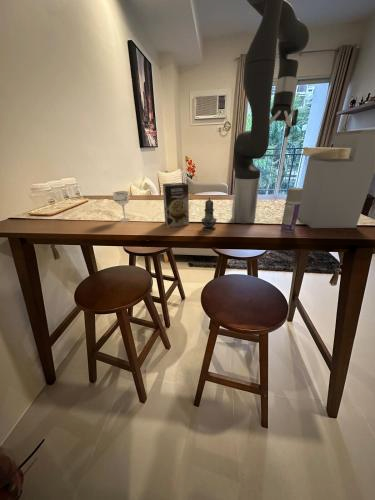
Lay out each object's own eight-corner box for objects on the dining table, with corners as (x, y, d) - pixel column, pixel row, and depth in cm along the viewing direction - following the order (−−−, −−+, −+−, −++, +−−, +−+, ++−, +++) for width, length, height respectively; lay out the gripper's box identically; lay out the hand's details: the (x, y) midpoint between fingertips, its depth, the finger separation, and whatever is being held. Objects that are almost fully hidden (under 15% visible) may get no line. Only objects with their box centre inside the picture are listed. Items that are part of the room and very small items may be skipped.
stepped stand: (311, 227, 80) (335, 130, 66) (296, 216, 93) (313, 132, 78) (355, 227, 79) (389, 128, 65) (334, 216, 92) (359, 131, 77)
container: (290, 227, 81) (298, 187, 74) (296, 232, 77) (306, 189, 70) (278, 228, 81) (285, 187, 74) (284, 232, 77) (291, 190, 70)
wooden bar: (335, 158, 68) (337, 148, 66) (302, 155, 89) (303, 147, 88) (348, 158, 67) (351, 148, 66) (312, 155, 89) (313, 147, 88)
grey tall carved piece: (215, 231, 79) (216, 199, 74) (200, 231, 80) (200, 199, 75) (217, 226, 84) (218, 196, 79) (202, 225, 86) (202, 195, 80)
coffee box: (167, 227, 85) (164, 186, 78) (164, 222, 90) (161, 183, 83) (189, 225, 87) (188, 184, 80) (185, 220, 92) (184, 181, 85)
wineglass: (127, 222, 92) (122, 194, 86) (114, 221, 94) (108, 194, 88) (135, 218, 97) (132, 191, 92) (123, 217, 99) (118, 190, 94)
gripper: (270, 89, 85) (263, 135, 91) (305, 90, 85) (296, 136, 91) (264, 94, 92) (258, 137, 98) (296, 96, 92) (288, 138, 98)
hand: (276, 136), depth 95 cm, fingers open, 8 cm apart
